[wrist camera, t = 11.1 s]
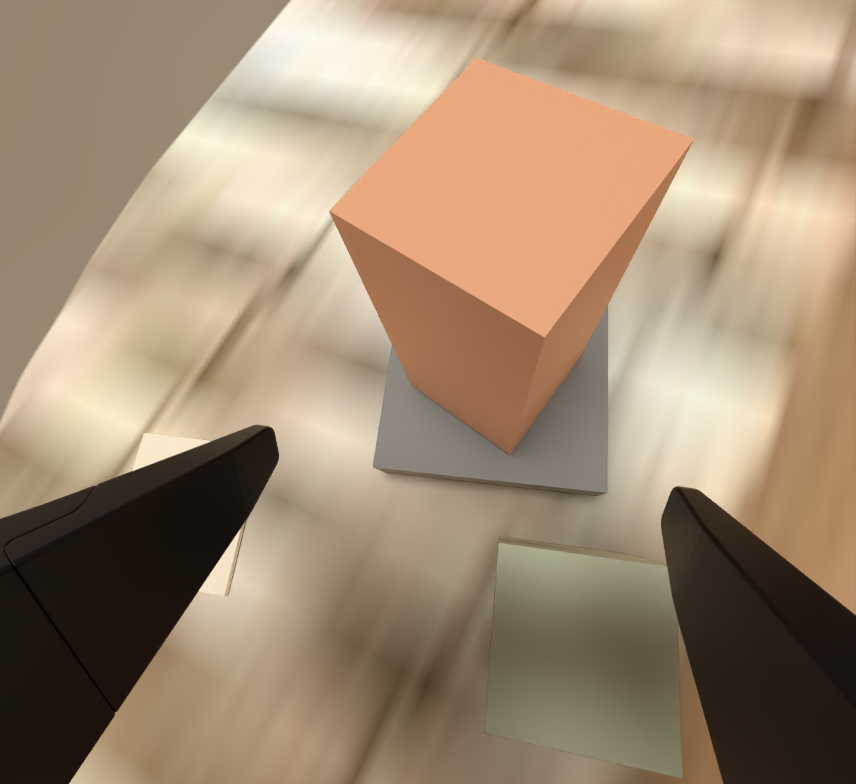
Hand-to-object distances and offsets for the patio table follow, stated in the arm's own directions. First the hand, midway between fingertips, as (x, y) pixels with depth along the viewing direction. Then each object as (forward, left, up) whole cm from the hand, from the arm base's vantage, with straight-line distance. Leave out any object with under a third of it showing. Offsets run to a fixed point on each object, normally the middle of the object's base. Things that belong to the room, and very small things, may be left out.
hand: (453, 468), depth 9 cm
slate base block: (+6, 0, -14) cm, 15 cm away
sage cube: (-5, -4, -13) cm, 15 cm away
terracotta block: (+6, 0, -10) cm, 12 cm away
